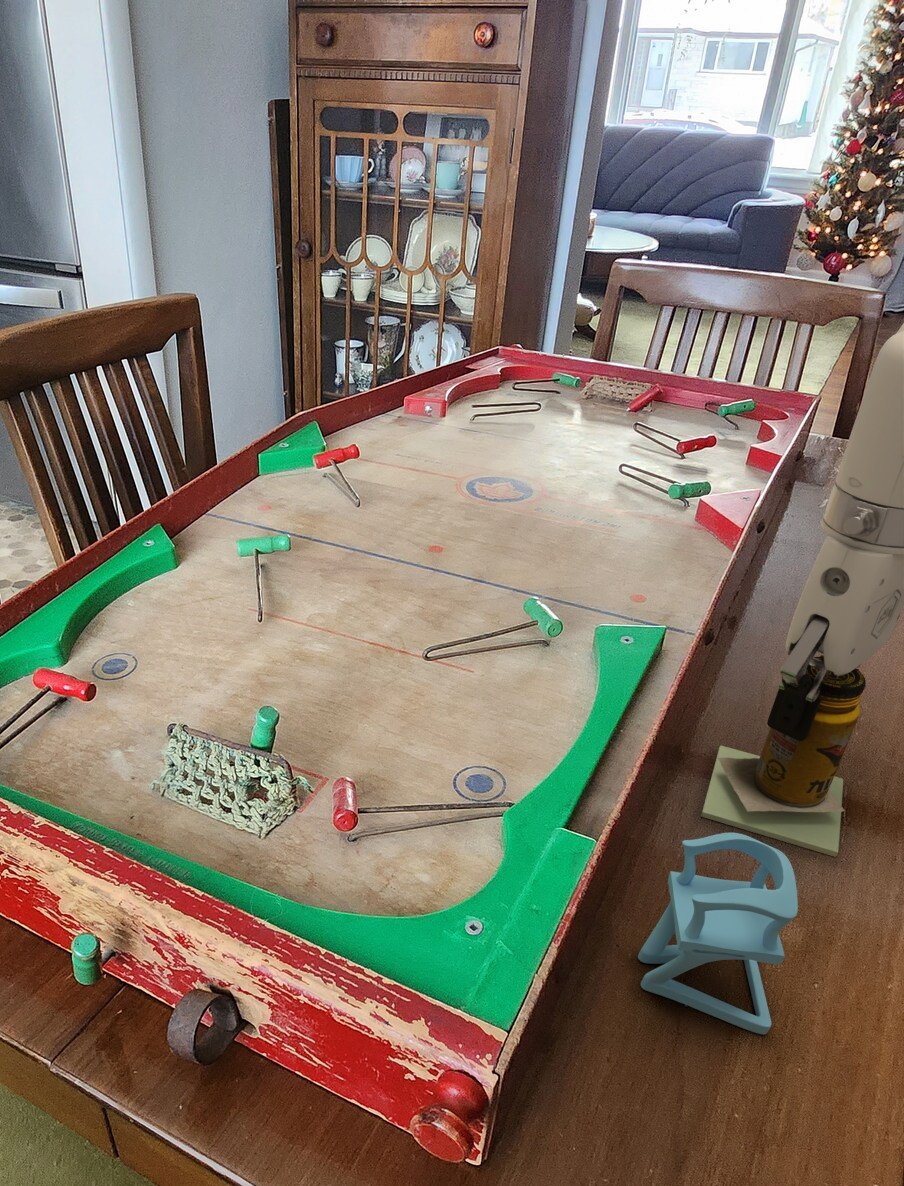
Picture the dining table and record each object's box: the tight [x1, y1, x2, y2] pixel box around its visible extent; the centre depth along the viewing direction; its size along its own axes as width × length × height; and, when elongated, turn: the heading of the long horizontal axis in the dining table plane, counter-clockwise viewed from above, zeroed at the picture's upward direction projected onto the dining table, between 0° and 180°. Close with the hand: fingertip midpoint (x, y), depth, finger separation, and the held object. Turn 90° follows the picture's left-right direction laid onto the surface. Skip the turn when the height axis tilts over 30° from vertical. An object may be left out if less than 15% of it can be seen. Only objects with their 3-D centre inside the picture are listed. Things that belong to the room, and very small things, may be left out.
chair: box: [637, 832, 799, 1036], centre depth 61 cm, size 8×8×12 cm
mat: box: [700, 745, 844, 858], centre depth 81 cm, size 11×11×1 cm
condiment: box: [718, 656, 867, 813], centre depth 77 cm, size 7×8×12 cm
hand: (805, 715), depth 76 cm, fingers closed on condiment, 6 cm apart
